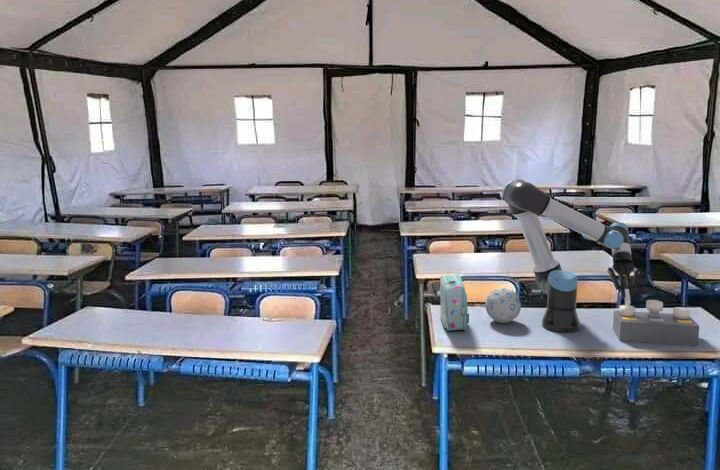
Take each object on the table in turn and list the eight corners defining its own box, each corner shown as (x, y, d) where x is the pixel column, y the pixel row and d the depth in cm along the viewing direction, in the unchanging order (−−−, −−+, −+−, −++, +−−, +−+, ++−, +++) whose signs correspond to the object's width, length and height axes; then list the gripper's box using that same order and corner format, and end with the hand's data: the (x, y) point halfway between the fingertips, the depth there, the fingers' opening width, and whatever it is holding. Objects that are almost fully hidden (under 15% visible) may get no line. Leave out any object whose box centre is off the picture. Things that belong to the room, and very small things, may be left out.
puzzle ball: (483, 325, 247) (484, 292, 245) (487, 314, 261) (487, 283, 259) (519, 329, 243) (520, 295, 240) (521, 317, 257) (522, 285, 254)
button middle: (646, 323, 229) (648, 303, 228) (643, 318, 235) (644, 299, 234) (663, 323, 228) (664, 304, 227) (659, 319, 234) (660, 300, 232)
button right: (673, 330, 228) (675, 311, 226) (669, 325, 233) (671, 306, 232) (690, 331, 226) (692, 312, 225) (685, 326, 232) (687, 307, 230)
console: (619, 340, 227) (620, 321, 226) (612, 328, 241) (613, 310, 239) (697, 345, 221) (699, 325, 219) (686, 333, 234) (687, 313, 233)
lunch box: (470, 335, 237) (471, 285, 233) (445, 335, 237) (445, 285, 233) (460, 314, 263) (461, 269, 259) (438, 314, 263) (438, 269, 259)
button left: (619, 328, 232) (620, 309, 231) (616, 323, 238) (618, 304, 236) (635, 329, 231) (637, 310, 229) (632, 324, 237) (633, 305, 235)
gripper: (636, 260, 247) (643, 309, 234) (604, 259, 250) (609, 308, 237) (640, 251, 241) (647, 300, 228) (607, 250, 244) (612, 299, 231)
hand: (628, 304), depth 233 cm, fingers closed
